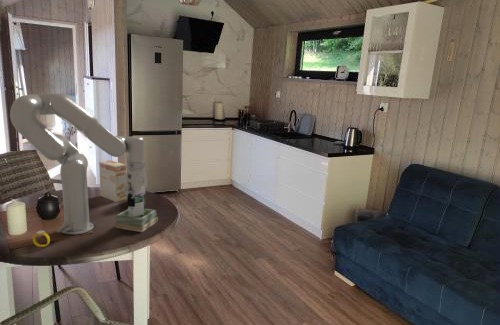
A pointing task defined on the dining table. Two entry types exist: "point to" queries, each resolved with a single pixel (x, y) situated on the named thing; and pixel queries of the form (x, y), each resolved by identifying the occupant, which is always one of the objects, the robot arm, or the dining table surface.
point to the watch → (41, 234)
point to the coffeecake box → (113, 180)
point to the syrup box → (138, 204)
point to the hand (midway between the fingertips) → (136, 203)
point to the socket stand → (136, 221)
